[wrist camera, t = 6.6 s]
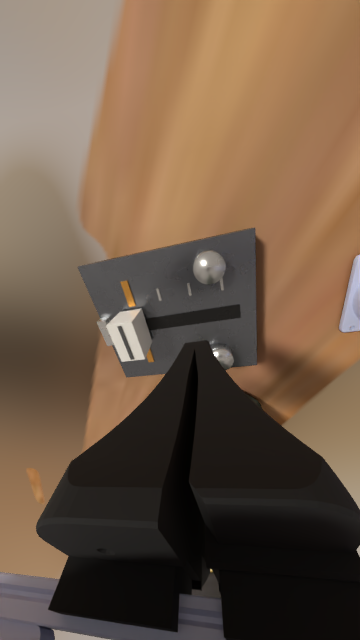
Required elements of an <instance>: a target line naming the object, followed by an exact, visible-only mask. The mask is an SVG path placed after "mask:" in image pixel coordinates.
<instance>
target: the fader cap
mask: <svg viewBox="0 0 360 640" xmlns="http://www.w3.org/2000/svg"><path fill="white" fill-rule="evenodd" d="M106 327H107V329H108V332H109V334H110V336H111V339H112V341H113V343H114V345H115V348H116V350H117V352H118V355H119V357H120V359H121V361H122V362H125V361H134V360H143V359H145V358H146V356H147V353H148V351H149V349H150V346H151V344H152V339H151V336H150V333H149V330H148V327H147V323H146V320H145V317H144V314H143V311H142V308H141V309H135V310H129V311H123V312H119V313H118V314H117V315H116V316H115V317H114V318H113V319H112V320H111V321H110V322H109V323H108V324H107V325H106Z"/></svg>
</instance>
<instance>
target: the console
mask: <svg viewBox="0 0 360 640" xmlns="http://www.w3.org/2000/svg"><path fill="white" fill-rule="evenodd" d="M78 269H79V271H80V274H81V276H82V278H83V281H84V283H85V285H86V287H87V289H88V292H89V294H90V296H91V298H92V301H93V303H94V305H95V307H96V310H97V312H98V314H99V317H100V319H99V321H97V324H98V326H99V328H100V331H101V333H102V335H103V337H104V339H105V341H106V344H107V346H110V345H112V346H113V348H114V350H115V353H116V355H117V357H118V359H119V362H120V364H121V366H122V368H123V371H124V373H125V375H126V377H136V376H146V375H156V374H166V373H167V372H168V370H169V369H170V367H171V366H172V364H173V362H174V361H175V359H176V358H177V356H178V354H179V353H180V351H181V349H182V347H183V345H184V344H185V343H189V342H196V341H204V340H207V341H209V344H210V347H211V349H212V351H213V353H214V355H215V356H216V358H217V360H218V361H219V363H220V364H221V366H222V367H223V368H224V370H227V369H229V368H230V367H240V366H250V365H257V328H256V247H255V228H249V229H244V230H240V231H235V232H231V233H226V234H222V235H217V236H213V237H208V238H204V239H199V240H194V241H190V242H185V243H181V244H176V245H172V246H167V247H163V248H158V249H154V250H149V251H145V252H140V253H135V254H131V255H126V256H122V257H117V258H113V259H108V260H104V261H100V262H95V263H90V264H86V265H82V266H79V267H78ZM141 308H142V311H143V314H144V317H145V320H146V323H147V327H148V330H149V333H150V336H151V339H152V344H151V346H150V349H149V351H148V353H147V356H146V358H145V359H143V360H134V361H125V362H122V361H121V359H120V357H119V355H118V352H117V350H116V348H115V345H114V343H113V341H112V339H111V336H110V334H109V332H108V329H107V327H106V325H107V324H108V323H109V322H110V321H111V320H112V319H113V318H114V317H115V316H116V315H117V314H118V313H119V312H123V311H129V310H135V309H141Z"/></svg>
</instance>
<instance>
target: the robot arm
mask: <svg viewBox="0 0 360 640" xmlns="http://www.w3.org/2000/svg"><path fill="white" fill-rule="evenodd" d="M339 330H340V331H342V332H353V331H360V255H358V256H356V258H355V259H354V262H353V266H352V271H351V275H350V280H349V284H348V289H347V293H346V298H345V302H344V307H343V311H342V316H341V320H340V325H339ZM36 531H37V534H38V535H39V537H41V538H42V539H43V540H44V541H46V542H47V543H49V544H50V545H52V546H54V547H55V548H57V549H58V550H60V551H61V552H63V553H65V554H66V555H68V556H69V557H68V560H67V562H66V565H65V567H64V570H63V572H62V575H61V577H60V579H53V578H45V577H36V576H27V575H20V574H11V573H2V572H0V640H55V636H54V631H53V630H52V629H55V630H61V631H66V632H72V633H78V634H84V635H89V636H95V637H100V638H106V639H111V640H360V557H359V555H358V553H357V551H356V550H357V548H358V547H359V545H360V509H359V508H358V506H357V504H356V503H355V501H354V500H353V498H352V497H351V495H350V494H349V492H348V491H347V489H346V488H345V487H344V485H343V484H342V482H341V481H340V480H339V478H338V477H337V475H336V474H335V473H334V472H333V470H332V469H331V468H330V466H329V465H328V464H327V462H325V460H324V459H323V457H321V456H320V455H319V454H317V453H316V452H315V451H313V450H312V449H311V448H309V447H308V446H307V445H305V444H304V443H302V442H301V441H300V440H299V439H297V438H296V437H295V436H293V435H292V434H291V433H289V432H288V431H287V430H286V429H284V428H283V427H282V426H281V425H280V424H278V423H277V422H276V421H275V420H274V419H272V418H271V417H270V416H269V415H268V414H267V413H266V412H264V411H263V410H262V409H261V408H260V407H259V406H258V405H257V404H256V403H255V402H253V401H252V400H251V399H250V398H249V397H248V396H247V395H246V394H245V393H244V392H243V391H242V390H241V389H240V387H239V386H238V385H237V384H236V383H235V382H234V381H233V380H232V378H231V377H230V376H229V375H228V374H227V372H226V371H225V370H224V368H223V367H222V366H221V364H220V363H219V361H218V360H217V358H216V356H215V355H214V353H213V351H212V349H211V347H210V344H209V341H207V340H204V341H196V342H189V343H185V344H184V345H183V347H182V349H181V351H180V353H179V354H178V356H177V358H176V359H175V361H174V362H173V364H172V366H171V367H170V369H169V370H168V372H167V373H166V374H165V376H164V377H163V378H162V380H161V381H160V382H159V384H158V385H157V386H156V387H155V389H154V390H153V391H152V392H151V393H150V394H149V396H148V397H147V398H146V399H145V400H144V401H143V402H142V403H141V404H140V405H139V406H138V407H137V408H136V409H135V410H134V411H133V412H132V413H131V414H130V415H129V416H128V417H126V418H125V419H124V420H123V421H122V422H121V423H120V424H119V425H117V426H116V427H115V428H114V429H113V430H112V431H110V432H109V433H108V434H107V435H105V436H104V437H103V438H102V439H100V440H99V441H98V442H97V443H95V444H94V445H93V446H91V447H90V448H89V449H87V450H86V451H85V452H83V453H82V454H81V455H79V456H78V457H77V458H75V459H74V460H73V461H71V463H70V465H69V466H68V468H67V470H66V472H65V473H64V475H63V477H62V479H61V480H60V482H59V484H58V486H57V488H56V489H55V491H54V493H53V495H52V497H51V499H50V500H49V502H48V504H47V506H46V508H45V510H44V511H43V513H42V515H41V517H40V518H39V520H38V522H37V525H36ZM210 569H212V571H213V573H214V575H215V577H216V579H217V581H218V584H219V592H220V594H221V598H213V597H205V596H197V595H192V590H200V591H202V587H203V585H204V584H205V582H206V580H207V579H208V576H209V574H210Z"/></svg>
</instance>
